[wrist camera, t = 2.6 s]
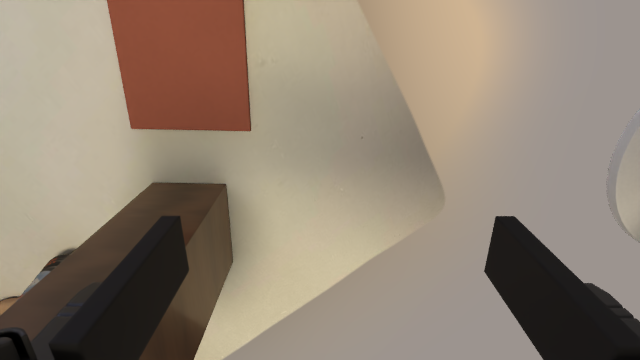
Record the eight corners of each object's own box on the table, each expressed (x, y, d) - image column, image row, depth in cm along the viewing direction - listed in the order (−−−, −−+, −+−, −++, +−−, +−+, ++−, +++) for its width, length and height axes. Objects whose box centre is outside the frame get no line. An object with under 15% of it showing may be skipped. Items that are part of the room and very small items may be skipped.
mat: (240, -56, 30) (239, -57, 30) (250, 130, 36) (250, 131, 36) (98, -58, 30) (95, -60, 30) (132, 127, 36) (130, 128, 36)
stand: (226, 183, 38) (0, 531, 12) (233, 261, 42) (75, 657, 15) (152, 182, 38) (-243, 525, 12) (165, 260, 42) (-108, 652, 16)
